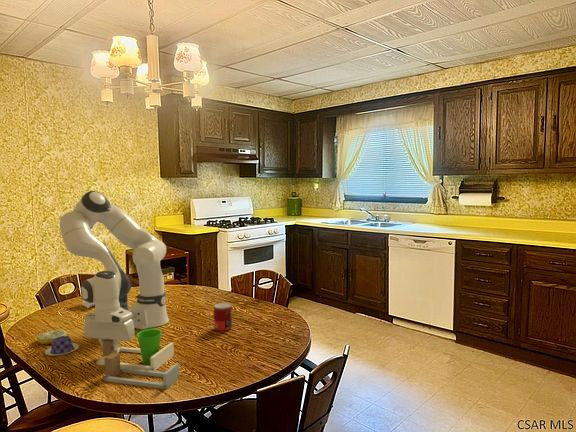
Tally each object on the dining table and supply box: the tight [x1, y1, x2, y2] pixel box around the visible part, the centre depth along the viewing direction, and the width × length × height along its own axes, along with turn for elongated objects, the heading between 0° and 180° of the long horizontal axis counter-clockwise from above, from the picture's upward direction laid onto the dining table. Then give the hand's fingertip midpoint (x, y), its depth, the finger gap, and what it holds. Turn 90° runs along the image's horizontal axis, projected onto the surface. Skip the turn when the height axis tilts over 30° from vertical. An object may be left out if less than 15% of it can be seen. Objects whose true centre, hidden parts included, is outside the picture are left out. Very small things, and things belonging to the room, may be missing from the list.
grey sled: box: [103, 353, 181, 390], centre depth 135 cm, size 25×8×7 cm, turn 75°
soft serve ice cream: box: [81, 299, 95, 309], centre depth 219 cm, size 12×15×14 cm
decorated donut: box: [36, 329, 68, 346], centre depth 169 cm, size 10×11×4 cm
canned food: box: [213, 302, 233, 332], centre depth 180 cm, size 8×8×11 cm
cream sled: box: [95, 339, 175, 371], centre depth 149 cm, size 25×13×7 cm, turn 75°
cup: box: [136, 328, 163, 366], centre depth 147 cm, size 9×9×11 cm
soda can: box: [119, 294, 129, 310], centre depth 204 cm, size 7×7×12 cm
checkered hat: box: [44, 335, 80, 356], centre depth 159 cm, size 12×12×5 cm
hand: (110, 349), depth 152 cm, fingers closed on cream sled, 3 cm apart
